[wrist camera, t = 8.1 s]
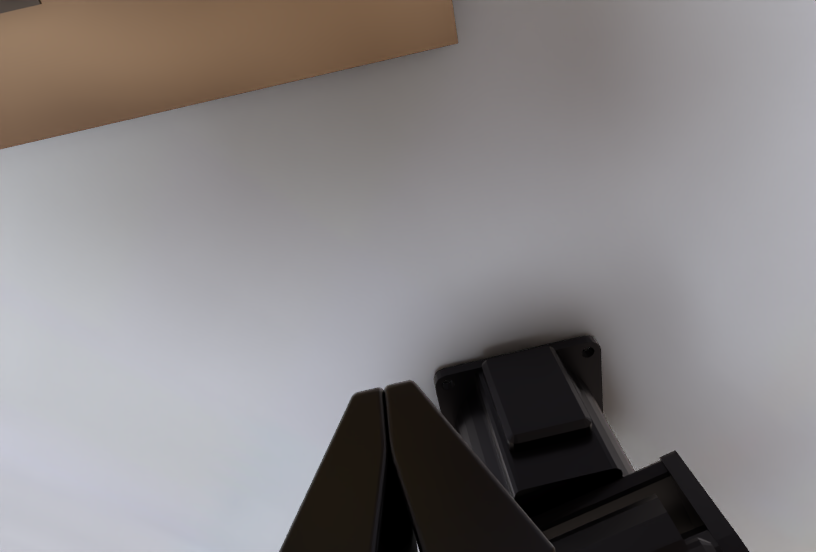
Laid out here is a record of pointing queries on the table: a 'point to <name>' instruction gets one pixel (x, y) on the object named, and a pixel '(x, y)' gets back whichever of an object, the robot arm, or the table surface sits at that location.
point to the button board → (186, 53)
